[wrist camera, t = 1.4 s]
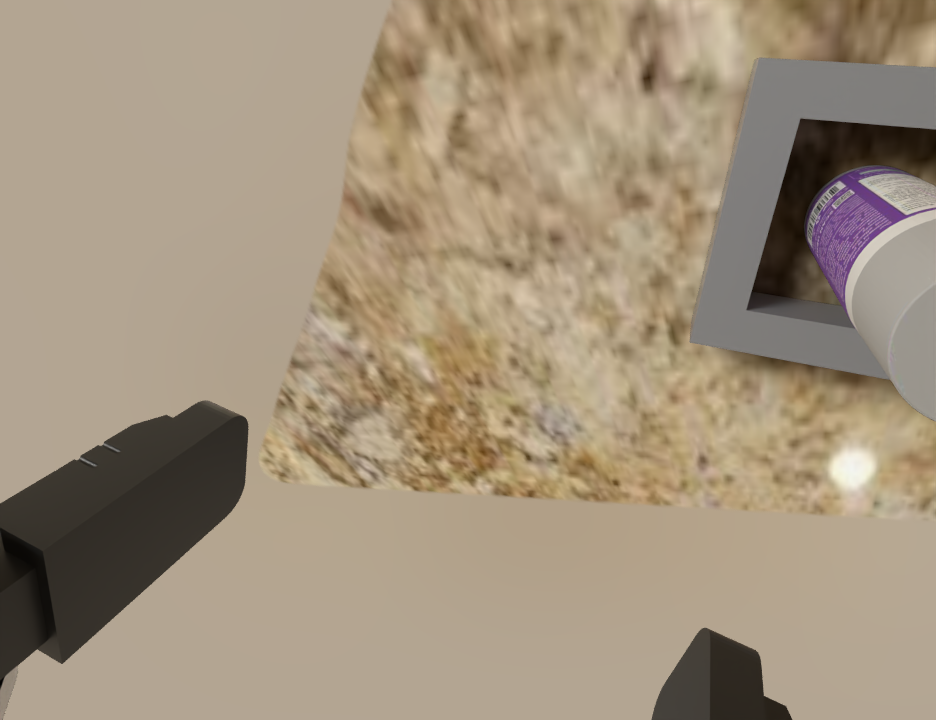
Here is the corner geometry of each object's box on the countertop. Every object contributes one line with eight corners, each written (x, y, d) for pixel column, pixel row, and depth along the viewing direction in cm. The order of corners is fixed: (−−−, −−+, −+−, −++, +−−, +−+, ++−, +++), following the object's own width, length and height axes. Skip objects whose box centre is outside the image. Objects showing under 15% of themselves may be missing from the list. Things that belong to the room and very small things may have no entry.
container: (835, 290, 28) (936, 465, 15) (783, 206, 28) (844, 316, 15) (949, 234, 26) (1182, 386, 13) (895, 141, 25) (1084, 204, 12)
